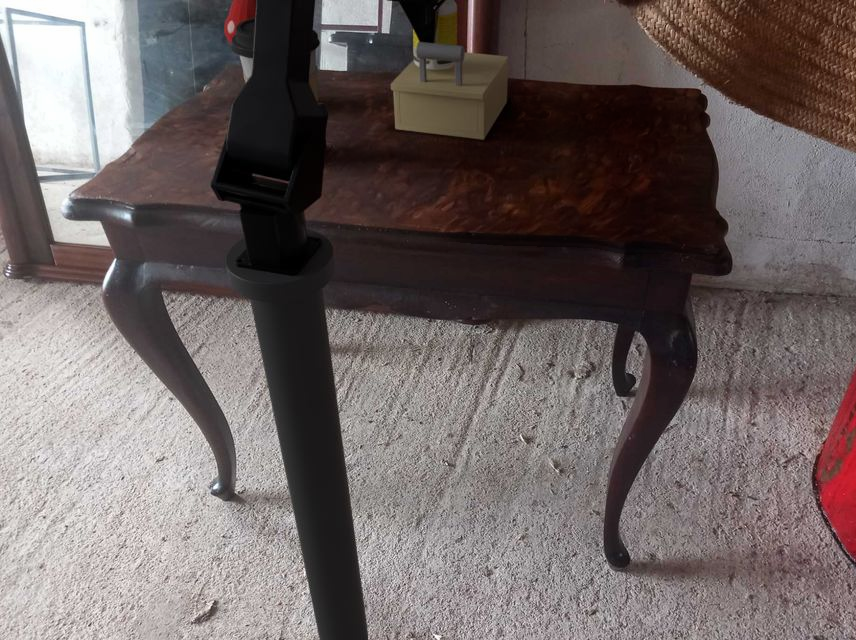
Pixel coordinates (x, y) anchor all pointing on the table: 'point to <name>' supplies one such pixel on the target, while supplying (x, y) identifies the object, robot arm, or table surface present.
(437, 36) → the supplement bottle
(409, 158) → the table surface
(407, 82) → the lid
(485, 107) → the wooden box
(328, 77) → the table surface
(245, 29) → the coffee cup
